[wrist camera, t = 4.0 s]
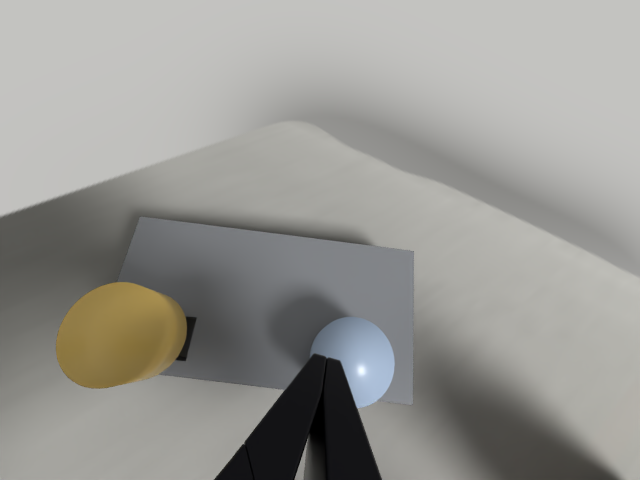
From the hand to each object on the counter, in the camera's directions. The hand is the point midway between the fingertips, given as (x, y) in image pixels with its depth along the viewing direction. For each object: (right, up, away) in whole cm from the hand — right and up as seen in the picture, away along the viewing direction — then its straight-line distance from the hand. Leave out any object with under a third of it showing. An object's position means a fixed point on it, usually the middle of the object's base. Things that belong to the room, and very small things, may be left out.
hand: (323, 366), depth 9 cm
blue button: (+1, -4, +11) cm, 11 cm away
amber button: (-9, -2, +8) cm, 12 cm away
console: (-4, -1, +13) cm, 13 cm away
